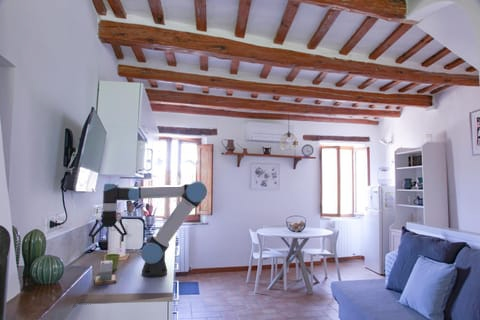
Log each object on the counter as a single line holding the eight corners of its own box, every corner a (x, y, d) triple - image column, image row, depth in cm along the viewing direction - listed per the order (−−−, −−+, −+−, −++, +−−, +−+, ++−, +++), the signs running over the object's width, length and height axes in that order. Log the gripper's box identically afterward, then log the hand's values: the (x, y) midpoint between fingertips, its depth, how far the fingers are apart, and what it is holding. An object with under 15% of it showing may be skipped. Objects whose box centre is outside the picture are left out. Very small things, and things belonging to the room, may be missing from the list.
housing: (111, 275, 186) (112, 259, 186) (111, 279, 179) (112, 262, 180) (99, 276, 183) (100, 260, 184) (99, 280, 177) (100, 263, 178)
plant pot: (103, 271, 199) (104, 257, 199) (103, 267, 207) (104, 254, 208) (119, 270, 202) (120, 256, 203) (119, 266, 211) (120, 253, 212)
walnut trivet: (115, 277, 189) (115, 274, 189) (116, 282, 178) (116, 280, 179) (94, 278, 184) (95, 276, 184) (94, 284, 174) (94, 282, 174)
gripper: (131, 209, 192) (130, 245, 191) (85, 210, 182) (83, 248, 181) (133, 210, 185) (131, 248, 184) (85, 211, 175) (82, 250, 174)
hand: (107, 248), depth 182 cm, fingers open, 13 cm apart
